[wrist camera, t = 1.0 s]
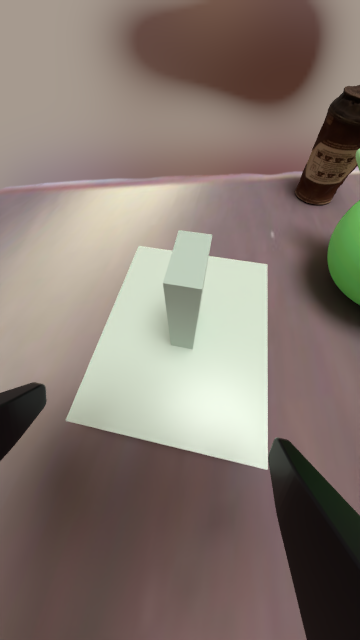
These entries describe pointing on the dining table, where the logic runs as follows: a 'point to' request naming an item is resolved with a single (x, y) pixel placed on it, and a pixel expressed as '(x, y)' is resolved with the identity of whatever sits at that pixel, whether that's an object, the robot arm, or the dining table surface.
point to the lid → (184, 355)
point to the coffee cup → (333, 150)
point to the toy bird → (347, 251)
